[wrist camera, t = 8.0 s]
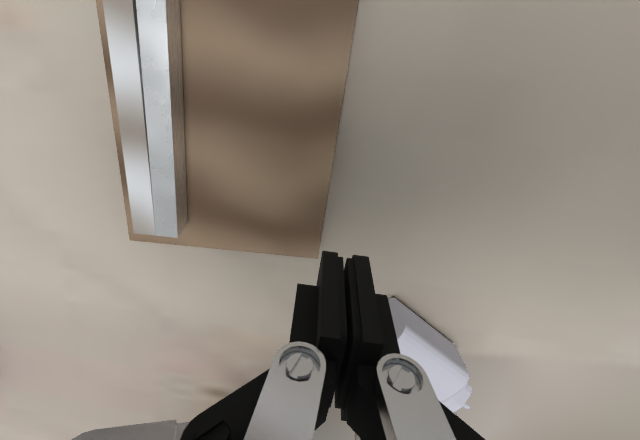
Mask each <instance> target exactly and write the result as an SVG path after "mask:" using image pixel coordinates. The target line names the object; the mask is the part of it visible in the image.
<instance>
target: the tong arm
mask: <svg viewBox="0 0 640 440" xmlns="http://www.w3.org/2000/svg"><path fill="white" fill-rule="evenodd" d="M136 9H137V21H138V32H139V44H140V56H141V67H142V79H143V91H144V102H145V114H146V126H147V138H148V149H149V161H150V173H151V184H152V196H153V208H154V219H155V231H156V236H165V237H174V238H178V237H179V235H180V234H181V233H182V231H183V230H184V228H185V227H186V226H187V224H188V221H187V192H186V164H185V136H184V107H183V79H182V51H181V22H180V0H136Z"/></svg>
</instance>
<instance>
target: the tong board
mask: <svg viewBox="0 0 640 440" xmlns="http://www.w3.org/2000/svg"><path fill="white" fill-rule="evenodd" d="M358 2H359V0H180V22H181V51H182V79H183V107H184V136H185V164H186V192H187V221H188V224H187V226H186V227H185V228H184V230H183V231H182V233H181V234H180V235H179V237H178V238H174V237H165V236H156V231H155V219H154V208H153V196H152V184H151V173H150V161H149V149H148V138H147V126H146V114H145V102H144V91H143V79H142V67H141V56H140V44H139V32H138V21H137V9H136V0H96V4H97V12H98V19H99V26H100V33H101V40H102V47H103V54H104V61H105V68H106V75H107V82H108V89H109V96H110V103H111V110H112V117H113V124H114V131H115V139H116V146H117V153H118V160H119V167H120V174H121V181H122V188H123V195H124V202H125V209H126V216H127V223H128V230H129V237H130V240H133V241H143V242H154V243H164V244H174V245H184V246H195V247H205V248H215V249H225V250H236V251H246V252H256V253H266V254H277V255H287V256H297V257H307V258H318V254H319V247H320V241H321V235H322V229H323V222H324V216H325V210H326V203H327V197H328V191H329V184H330V178H331V172H332V166H333V159H334V153H335V147H336V140H337V134H338V128H339V121H340V115H341V109H342V103H343V96H344V90H345V84H346V77H347V71H348V65H349V58H350V52H351V46H352V40H353V33H354V27H355V21H356V14H357V8H358Z"/></svg>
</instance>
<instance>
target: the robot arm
mask: <svg viewBox="0 0 640 440" xmlns="http://www.w3.org/2000/svg"><path fill="white" fill-rule="evenodd" d="M334 391H335V408H340V409H341V420H343V421H347V424H348V425H349V426H350V427H351V428H352V429H353V431H354V432H355V440H485V439H484V438H483V437H481V436H480V435H479V434H478V433H477V432H476V431H474V430H473V429H472V428H471V427H470V426H468V425H467V424H466V423H465V422H464V421H462V420H461V419H460V418H459V417H458V416H457V415H455V414H454V413H453V412H452V411H451V410H449V409H448V408H447V407H446V406H445V405H444V404H442V403H441V402H440V401H439V400H438V398H437V396H436V394H435V391H434V389H433V387H432V385H431V383H430V380H429V378H428V376H427V374H426V372H425V371H424V369H423V368H422V367H421V366H420V365H419V364H418V363H417V362H416V361H415V360H413V359H412V358H410V357H408V356H405V355H403V354H400V349H399V345H398V341H397V336H396V332H395V327H394V323H393V318H392V314H391V310H390V305H389V301H388V298H387V296H386V295H381V294H375V290H374V284H373V279H372V273H371V268H370V262H369V257H366V256H358V255H353V256H352V259H351V258H347V260H346V264H345V268H344V267H343V257H338V253H336V252H329V251H323V252H322V257H321V263H320V269H319V274H318V280H317V286H312V285H304V284H298V285H297V292H296V300H295V307H294V314H293V321H292V328H291V335H290V342H289V343H288V344H286V345H284V346H282V347H281V348H280V349H279V350H278V351H277V353H276V355H275V356H274V359H273V362H272V364H271V367H270V369H269V370H267V371H265V372H264V373H262V374H261V375H259V376H258V377H256V378H255V379H253V380H252V381H250V382H248V383H247V384H245V385H244V386H242V387H241V388H239V389H238V390H236V391H234V392H233V393H231V394H230V395H228V396H227V397H225V398H224V399H222V400H220V401H219V402H217V403H216V404H214V405H213V406H211V407H210V408H208V409H207V410H205V411H203V412H202V413H200V414H199V415H197V416H196V417H195V418H194V419H193V420H191V421H190V422H185V423H176V420H169V421H161V422H152V423H144V424H136V425H128V426H120V427H112V428H104V429H95V430H92V431H88V432H85V433H82V434H80V435H79V436H77V437H75V438H73V439H72V440H313V435H314V431H315V430H316V429H317V428H318V427H319V426H320V425H321V424H323V423H324V422H325V421H326V416H327V413H328V409H329V407H331V403H332V399H333V395H334Z"/></svg>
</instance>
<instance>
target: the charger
mask: <svg viewBox="0 0 640 440" xmlns="http://www.w3.org/2000/svg"><path fill="white" fill-rule="evenodd" d="M388 301H389V305H390V310H391V314H392V318H393V323H394V327H395V332H396V336H397V341H398V345H399V349H400V354H403V355H405V356H408V357H410V358H412V359H413V360H415V361H416V362H417V363H418V364H419V365H420V366H421V367H422V368H423V369H424V371H425V372H426V374H427V376H428V378H429V380H430V383H431V385H432V387H433V389H434V391H435V394H436V396H437V398H438V400H439V401H440V402H441V403H442V404H444V405H445V406H446V407H447V408H448V409H449V410H451V411H452V412H453V413H454V414H455V415H457V414H456V413H455V411H456V410H458V409H460V408H461V407H464V408H466V409H469V408H470V405H469V404H467V403H466V401H467V399H468V398H469V396H470V395H471V392H472V388H471V387H470V386H469V385H468V384H467V382H468V380H469V377H470V376H469V372H468V370H467V368H466V366H465V364H464V362H463V360H462V358H461V356H460V354H459V352H458V350H457V348H456V346H455V345H454V344H453V343H451V342H450V341H449V340H448V339H446V338H445V337H444V336H443V335H441V334H440V333H439V332H437V331H436V330H435V329H434V328H432V327H431V326H430V325H429V324H427V323H426V322H425V321H423V320H422V319H421V318H420V317H418V316H417V315H416V314H415V313H413V312H412V311H411V310H410V309H408V308H407V307H406V306H404V305H403V304H402V303H401V302H399V301H398V300H397V299H396V298H389V299H388Z"/></svg>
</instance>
